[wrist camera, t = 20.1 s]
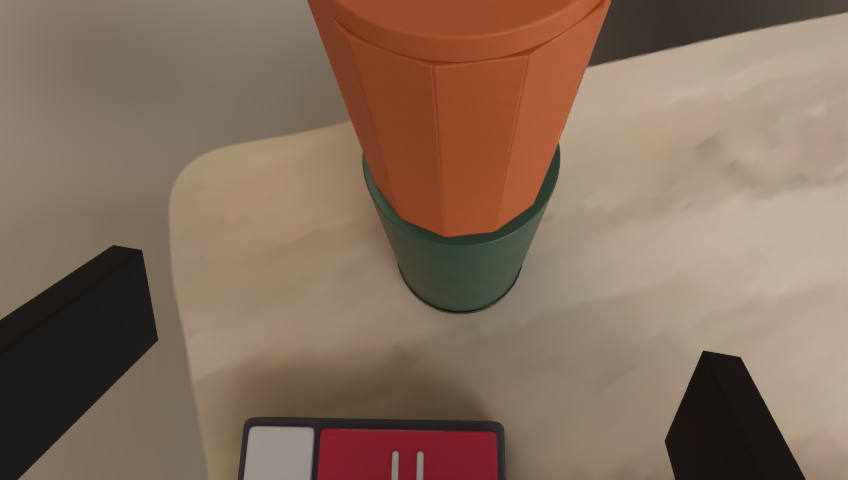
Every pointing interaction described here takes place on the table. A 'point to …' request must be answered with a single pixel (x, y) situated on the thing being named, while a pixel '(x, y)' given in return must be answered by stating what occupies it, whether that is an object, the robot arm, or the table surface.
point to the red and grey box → (371, 449)
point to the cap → (459, 98)
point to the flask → (462, 253)
